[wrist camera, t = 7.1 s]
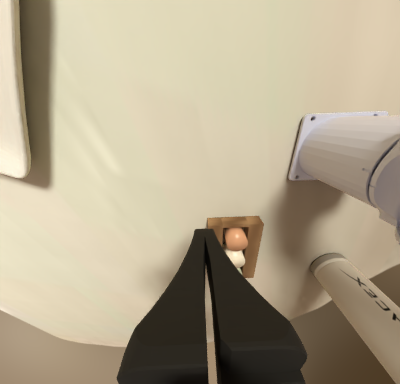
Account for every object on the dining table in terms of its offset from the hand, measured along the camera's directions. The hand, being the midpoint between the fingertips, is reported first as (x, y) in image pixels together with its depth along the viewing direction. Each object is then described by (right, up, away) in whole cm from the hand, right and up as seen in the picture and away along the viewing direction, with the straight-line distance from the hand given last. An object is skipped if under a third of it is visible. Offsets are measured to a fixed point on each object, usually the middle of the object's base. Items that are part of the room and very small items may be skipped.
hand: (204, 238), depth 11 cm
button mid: (+5, -6, +13) cm, 16 cm away
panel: (+5, -6, +14) cm, 16 cm away
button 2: (+5, -3, +12) cm, 13 cm away
